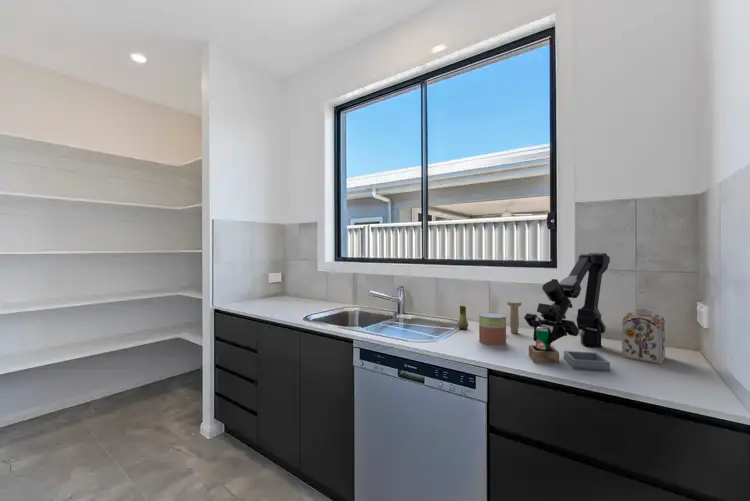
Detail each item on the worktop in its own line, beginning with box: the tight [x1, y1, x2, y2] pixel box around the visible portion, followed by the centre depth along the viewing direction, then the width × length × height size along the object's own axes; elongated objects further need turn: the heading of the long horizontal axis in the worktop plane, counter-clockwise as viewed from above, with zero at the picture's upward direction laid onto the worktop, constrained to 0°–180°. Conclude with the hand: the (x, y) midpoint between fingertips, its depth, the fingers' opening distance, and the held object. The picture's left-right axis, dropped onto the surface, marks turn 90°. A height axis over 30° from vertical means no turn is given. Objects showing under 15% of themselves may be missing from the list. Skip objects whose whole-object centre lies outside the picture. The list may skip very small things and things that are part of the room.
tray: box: [563, 350, 611, 372], centre depth 120 cm, size 11×11×3 cm
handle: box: [506, 300, 522, 334], centre depth 166 cm, size 5×6×15 cm
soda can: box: [535, 325, 552, 352], centre depth 126 cm, size 5×5×12 cm
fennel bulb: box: [458, 304, 469, 330], centre depth 176 cm, size 6×5×12 cm
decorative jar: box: [621, 308, 666, 365], centre depth 128 cm, size 12×12×18 cm
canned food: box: [478, 312, 507, 347], centre depth 149 cm, size 11×11×12 cm
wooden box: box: [528, 344, 560, 365], centre depth 126 cm, size 8×8×4 cm
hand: (540, 342), depth 126 cm, fingers closed on soda can, 5 cm apart
